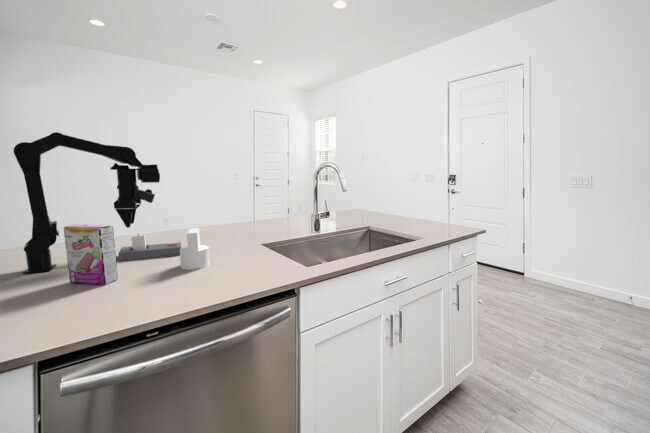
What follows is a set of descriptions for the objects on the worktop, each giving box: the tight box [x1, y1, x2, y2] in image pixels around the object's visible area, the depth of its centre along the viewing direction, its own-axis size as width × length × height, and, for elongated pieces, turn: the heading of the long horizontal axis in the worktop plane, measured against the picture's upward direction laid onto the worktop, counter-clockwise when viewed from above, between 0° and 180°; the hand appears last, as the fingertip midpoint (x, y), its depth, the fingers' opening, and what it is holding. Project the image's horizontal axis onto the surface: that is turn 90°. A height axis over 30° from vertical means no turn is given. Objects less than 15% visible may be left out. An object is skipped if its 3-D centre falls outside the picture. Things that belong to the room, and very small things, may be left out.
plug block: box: [131, 233, 147, 250], centre depth 115 cm, size 4×4×8 cm
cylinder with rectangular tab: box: [179, 227, 210, 271], centre depth 104 cm, size 9×9×12 cm
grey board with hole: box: [117, 242, 182, 262], centre depth 119 cm, size 9×26×4 cm, turn 116°
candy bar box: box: [63, 223, 119, 286], centre depth 88 cm, size 11×5×16 cm, turn 84°
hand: (130, 225), depth 114 cm, fingers open, 9 cm apart
